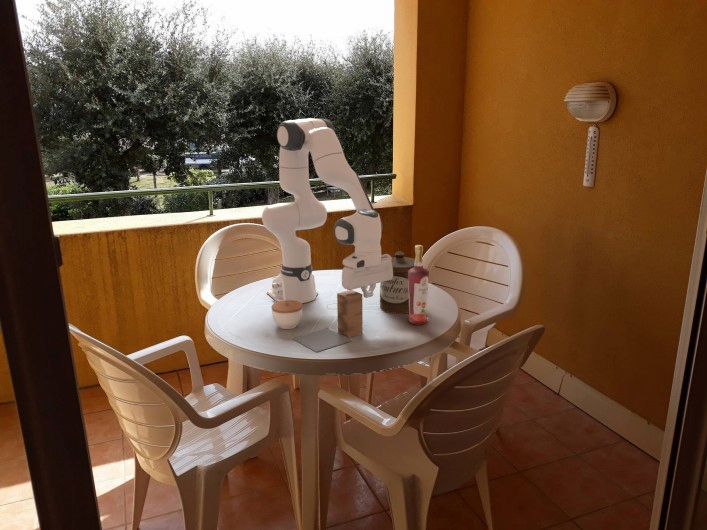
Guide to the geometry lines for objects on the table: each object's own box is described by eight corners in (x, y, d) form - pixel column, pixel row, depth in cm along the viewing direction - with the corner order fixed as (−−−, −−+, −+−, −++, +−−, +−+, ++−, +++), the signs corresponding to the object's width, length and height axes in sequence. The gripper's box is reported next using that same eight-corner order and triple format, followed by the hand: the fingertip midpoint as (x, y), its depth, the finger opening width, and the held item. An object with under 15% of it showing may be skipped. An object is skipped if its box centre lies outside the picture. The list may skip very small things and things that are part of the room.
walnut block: (337, 332, 190) (337, 293, 186) (352, 327, 194) (351, 289, 190) (348, 337, 185) (348, 297, 182) (363, 333, 189) (362, 293, 185)
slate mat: (292, 338, 185) (292, 338, 185) (326, 328, 193) (326, 327, 193) (316, 352, 174) (316, 351, 174) (351, 341, 183) (351, 340, 183)
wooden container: (373, 310, 210) (373, 254, 204) (388, 299, 223) (388, 245, 217) (411, 316, 204) (412, 258, 198) (423, 303, 217) (425, 249, 211)
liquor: (416, 328, 193) (418, 249, 185) (402, 322, 198) (403, 245, 191) (432, 323, 197) (434, 246, 189) (418, 317, 203) (419, 242, 195)
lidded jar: (288, 318, 204) (287, 293, 201) (309, 324, 197) (308, 299, 194) (266, 326, 196) (264, 301, 193) (287, 334, 189) (286, 308, 187)
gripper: (385, 251, 196) (385, 288, 200) (338, 261, 184) (339, 300, 188) (397, 254, 191) (396, 292, 195) (350, 265, 179) (350, 305, 183)
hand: (368, 296), depth 191 cm, fingers closed
